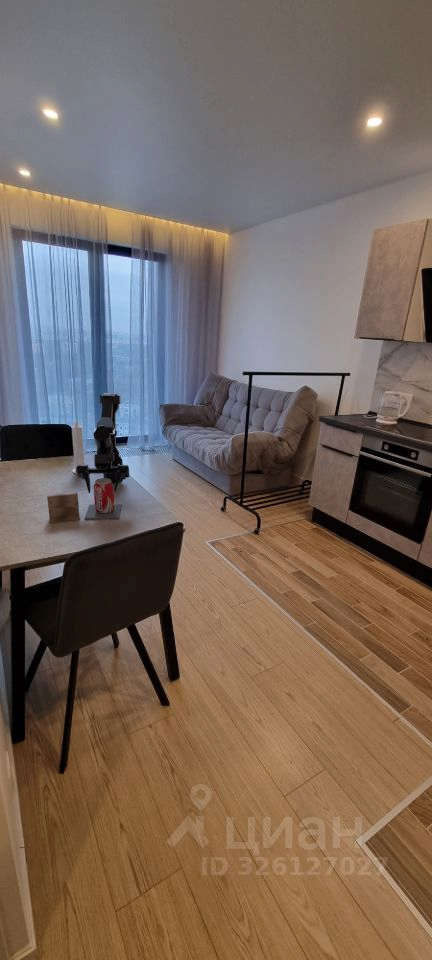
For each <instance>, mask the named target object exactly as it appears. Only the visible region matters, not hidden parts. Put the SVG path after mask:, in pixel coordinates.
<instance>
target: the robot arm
mask: <svg viewBox="0 0 432 960" xmlns="http://www.w3.org/2000/svg"><path fill="white" fill-rule="evenodd" d="M99 404H101V414H100V415H101V417H100V420H99V421H97V423H96V427H95V428H94V431H93V438H94V443H95V445H96V454H94V456H93V458H94V461H93V462H94V468H90V467H89V465H88V464H85V465H78V466H77V467H76V473H77V474H76V475H77V478H81V480H84V481H85V484H86V488H87V491H88V493H89V494H90V493H91V476H90V474H91V475H92V474H99V475H100V474H102V475H103V476H102V477H103V478H108V479H111V480H112V481H111V482H112V483H113V484H114V494H115V493H117V491H118V490H119V488H120V485H121V484H122V482H123V481H124V480H126V479H127V478H130V466H129V465H128V464H124V462H123V458H122V456H121V455H120V451H119V450H118V448H117V445H116V441H117V440H116V438H117V436H118V431H117V427H116V426H117V425H116V419H117V418H116V414H117V412H118V411H119V409H120V404H121V395H119V394H118V393H117V392H116V393H115V392H103V393H102V394H99Z"/></svg>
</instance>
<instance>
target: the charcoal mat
mask: <svg viewBox="0 0 432 960" xmlns="http://www.w3.org/2000/svg"><path fill="white" fill-rule="evenodd" d="M121 511H122V504H121V503H114V510H112V511H111V512H109V513H99V512H97V511H96V509H95V503H94V504H89V505H88V508H87V511H86V514H85V516H84V521H89V520H92V521H93V520H119V519H120V515H121Z"/></svg>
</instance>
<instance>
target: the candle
mask: <svg viewBox="0 0 432 960" xmlns="http://www.w3.org/2000/svg"><path fill="white" fill-rule="evenodd" d="M71 436H72V449H73V460H74V468H73V469H72V473H73V474H75V475H77V473H76V467H77V466H78V465H86V464H85V449H84V433H83V426H82V425H80V424H79V423H78V420H77V419H75V423H74V424H73V425H72V426H71Z"/></svg>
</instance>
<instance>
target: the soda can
mask: <svg viewBox="0 0 432 960" xmlns="http://www.w3.org/2000/svg"><path fill="white" fill-rule="evenodd" d="M111 481H112V480H111V479H108V478H104V477H102V478H97V479H95V481H94V482H95V483H94V484H93V496H94V497H93V500H94V504H95V509H96V511H97V512H99V513H109V512H111V511H112V510H114V504H115V486H114V483H112V482H111Z"/></svg>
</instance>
